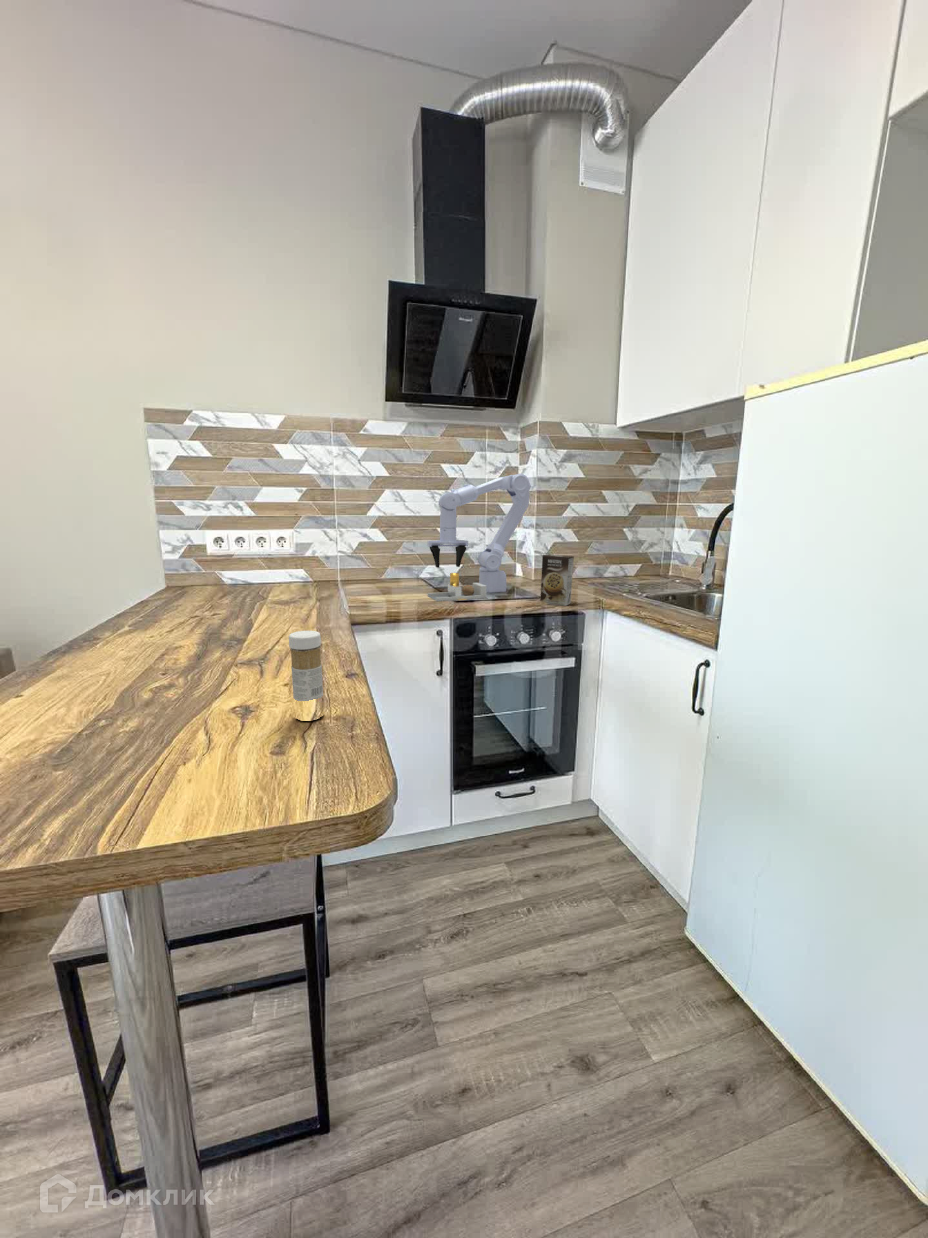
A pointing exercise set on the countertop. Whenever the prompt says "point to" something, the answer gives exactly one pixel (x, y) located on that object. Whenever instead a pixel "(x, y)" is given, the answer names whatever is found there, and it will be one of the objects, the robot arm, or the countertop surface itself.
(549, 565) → the coffee box
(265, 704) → the countertop surface
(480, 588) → the cracker base
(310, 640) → the spice jar
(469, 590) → the walnut
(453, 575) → the cracker jaw
